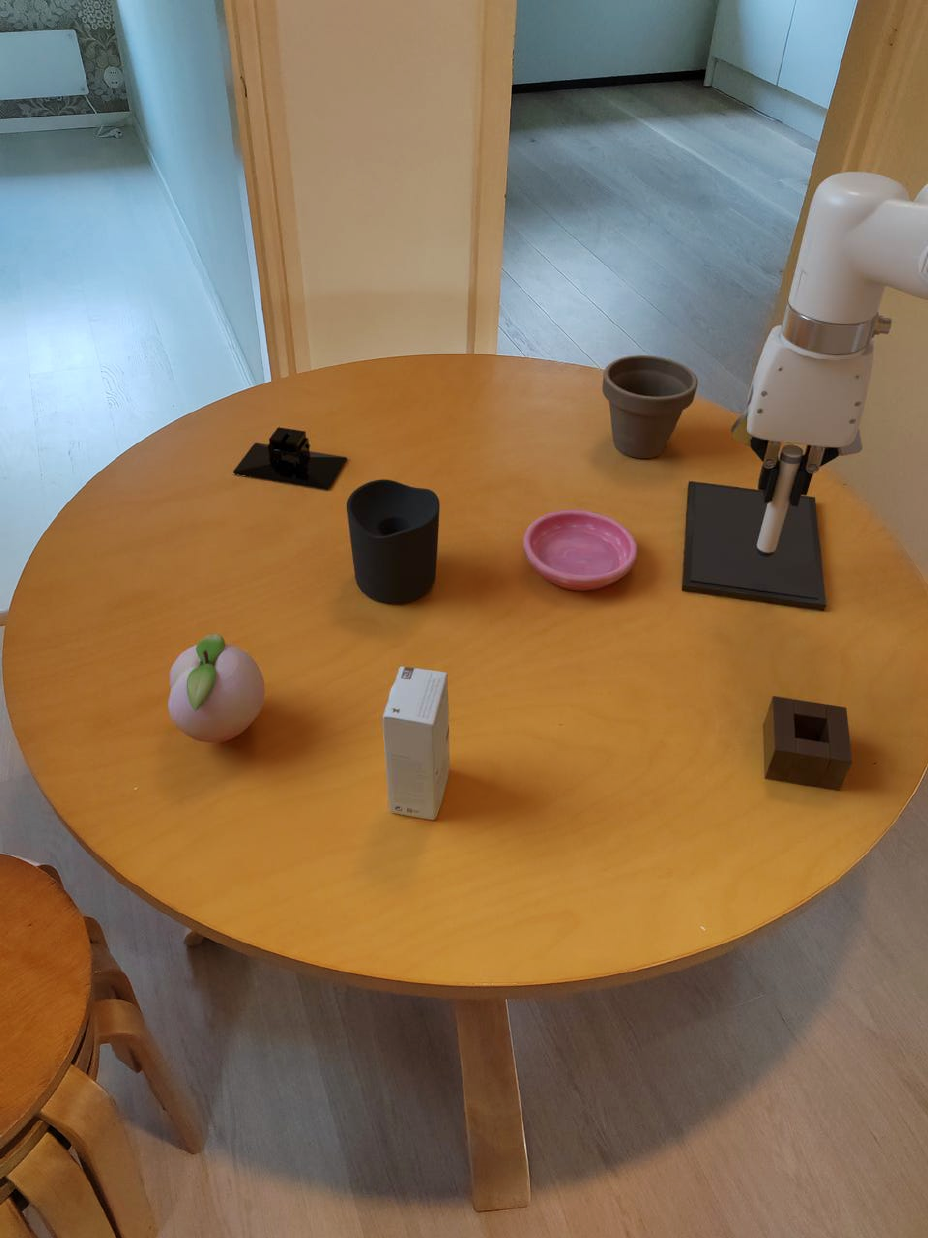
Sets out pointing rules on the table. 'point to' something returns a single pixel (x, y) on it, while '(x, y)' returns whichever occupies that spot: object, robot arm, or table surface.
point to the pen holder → (393, 540)
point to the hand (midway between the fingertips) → (780, 495)
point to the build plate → (291, 461)
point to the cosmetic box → (417, 742)
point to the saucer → (579, 549)
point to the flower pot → (646, 401)
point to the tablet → (750, 549)
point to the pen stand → (806, 743)
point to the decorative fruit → (215, 690)
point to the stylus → (779, 500)
